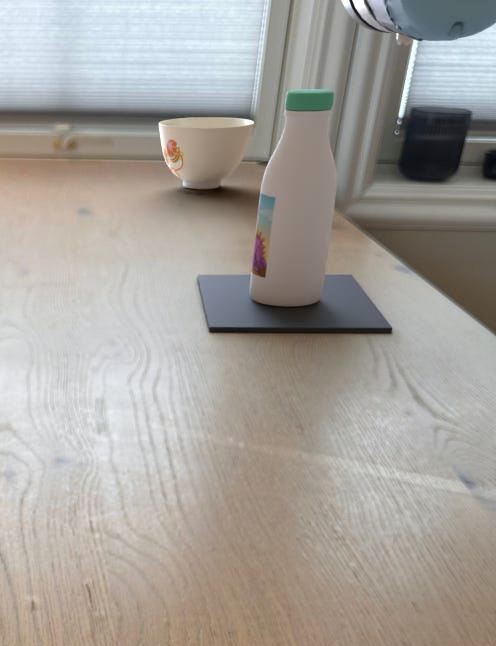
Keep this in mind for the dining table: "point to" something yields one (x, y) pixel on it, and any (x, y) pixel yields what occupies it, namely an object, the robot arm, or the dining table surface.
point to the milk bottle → (296, 206)
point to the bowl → (204, 148)
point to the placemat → (289, 308)
